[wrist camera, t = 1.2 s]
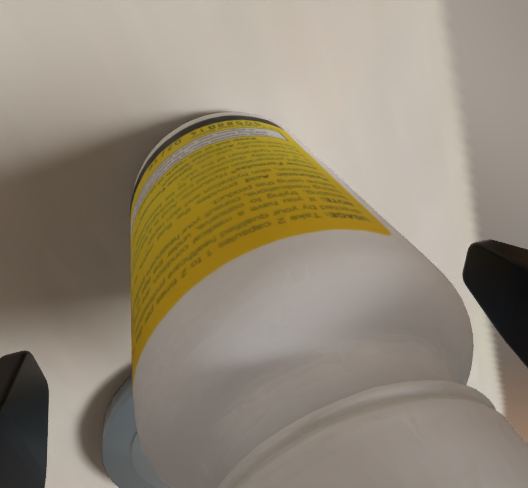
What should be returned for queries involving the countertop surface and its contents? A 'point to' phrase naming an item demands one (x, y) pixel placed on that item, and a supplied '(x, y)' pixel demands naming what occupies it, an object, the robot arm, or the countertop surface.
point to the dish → (126, 445)
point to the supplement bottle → (295, 329)
